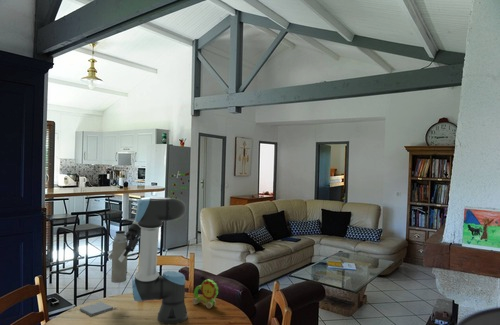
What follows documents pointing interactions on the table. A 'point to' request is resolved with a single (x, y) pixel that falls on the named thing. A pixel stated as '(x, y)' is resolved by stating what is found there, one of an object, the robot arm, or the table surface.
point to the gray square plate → (96, 308)
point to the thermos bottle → (118, 267)
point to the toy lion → (206, 293)
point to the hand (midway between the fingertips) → (114, 259)
